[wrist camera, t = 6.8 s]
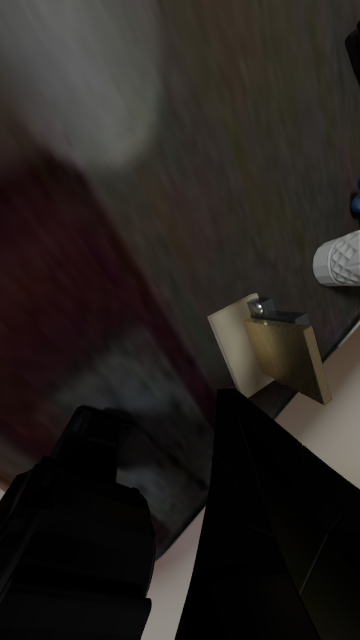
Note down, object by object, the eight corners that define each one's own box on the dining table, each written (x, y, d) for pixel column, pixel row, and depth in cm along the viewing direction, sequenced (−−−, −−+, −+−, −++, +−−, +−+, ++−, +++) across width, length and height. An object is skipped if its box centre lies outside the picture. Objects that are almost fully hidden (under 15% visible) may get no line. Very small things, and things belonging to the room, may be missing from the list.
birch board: (239, 396, 25) (244, 400, 24) (207, 316, 22) (210, 317, 21) (278, 371, 27) (283, 373, 26) (251, 293, 24) (257, 293, 23)
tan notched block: (262, 372, 24) (324, 405, 16) (243, 321, 22) (303, 331, 15) (286, 356, 25) (355, 380, 17) (270, 306, 23) (339, 308, 16)
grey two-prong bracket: (271, 379, 25) (318, 404, 19) (244, 303, 23) (288, 303, 16) (280, 372, 25) (329, 395, 19) (255, 297, 23) (302, 295, 17)
